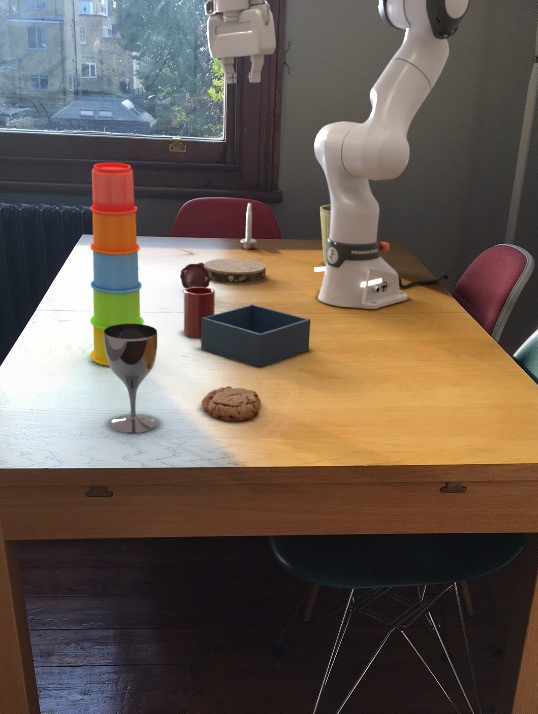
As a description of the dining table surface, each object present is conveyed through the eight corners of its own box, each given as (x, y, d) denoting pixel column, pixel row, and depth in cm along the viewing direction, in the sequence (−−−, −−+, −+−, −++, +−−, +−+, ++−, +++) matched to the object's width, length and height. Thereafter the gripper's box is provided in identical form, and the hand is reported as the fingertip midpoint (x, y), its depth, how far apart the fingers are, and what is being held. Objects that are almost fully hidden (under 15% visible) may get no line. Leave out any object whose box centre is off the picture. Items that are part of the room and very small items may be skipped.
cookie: (216, 425, 139) (217, 407, 137) (193, 402, 147) (193, 385, 146) (273, 417, 143) (274, 400, 141) (248, 395, 151) (248, 379, 150)
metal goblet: (109, 414, 141) (105, 323, 134) (159, 414, 142) (157, 323, 135) (106, 434, 134) (101, 338, 127) (158, 434, 135) (156, 339, 128)
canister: (203, 328, 186) (203, 285, 182) (219, 335, 181) (220, 292, 177) (178, 332, 183) (178, 289, 178) (194, 340, 178) (194, 295, 174)
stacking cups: (154, 354, 169) (150, 162, 153) (130, 370, 160) (124, 169, 144) (106, 347, 172) (97, 158, 155) (80, 362, 163) (68, 164, 147)
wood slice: (276, 276, 230) (277, 264, 228) (243, 287, 218) (244, 275, 216) (226, 267, 237) (226, 255, 236) (191, 277, 225) (191, 265, 224)
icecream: (209, 272, 203) (217, 264, 217) (179, 262, 203) (189, 255, 216) (201, 301, 206) (210, 291, 219) (171, 291, 205) (182, 282, 219)
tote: (251, 333, 183) (252, 304, 180) (308, 350, 175) (310, 319, 172) (201, 349, 173) (201, 317, 170) (259, 367, 164) (261, 334, 161)
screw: (254, 250, 257) (238, 249, 258) (257, 247, 262) (241, 246, 262) (256, 204, 251) (239, 203, 252) (259, 201, 255) (242, 200, 256)
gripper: (282, -4, 158) (284, 81, 164) (228, 6, 174) (232, 83, 180) (252, -5, 155) (255, 82, 162) (200, 6, 171) (205, 84, 178)
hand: (242, 83), depth 171 cm, fingers open, 8 cm apart
